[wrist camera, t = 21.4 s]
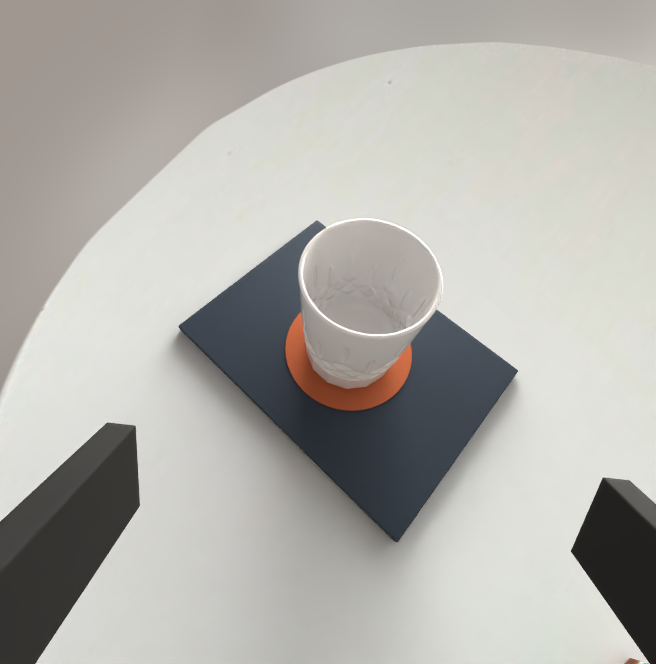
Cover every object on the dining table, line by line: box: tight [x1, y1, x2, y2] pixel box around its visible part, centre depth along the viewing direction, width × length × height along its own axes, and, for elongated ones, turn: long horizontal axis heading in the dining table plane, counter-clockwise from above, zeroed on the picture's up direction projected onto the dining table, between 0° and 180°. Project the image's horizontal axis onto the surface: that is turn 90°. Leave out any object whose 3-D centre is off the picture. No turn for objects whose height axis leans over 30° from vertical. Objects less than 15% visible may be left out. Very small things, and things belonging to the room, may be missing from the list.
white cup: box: [298, 219, 443, 389], centre depth 24 cm, size 8×8×10 cm
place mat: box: [179, 221, 518, 542], centre depth 29 cm, size 22×16×1 cm
